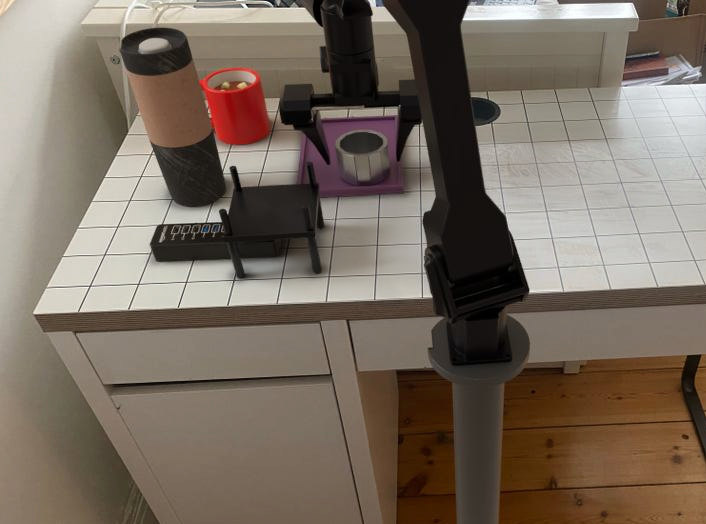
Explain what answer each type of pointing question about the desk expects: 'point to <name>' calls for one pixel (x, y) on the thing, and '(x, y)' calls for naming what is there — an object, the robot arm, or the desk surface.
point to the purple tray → (329, 174)
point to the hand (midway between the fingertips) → (363, 161)
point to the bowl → (363, 157)
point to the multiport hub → (203, 243)
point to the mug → (236, 105)
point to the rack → (273, 216)
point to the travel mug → (174, 114)
